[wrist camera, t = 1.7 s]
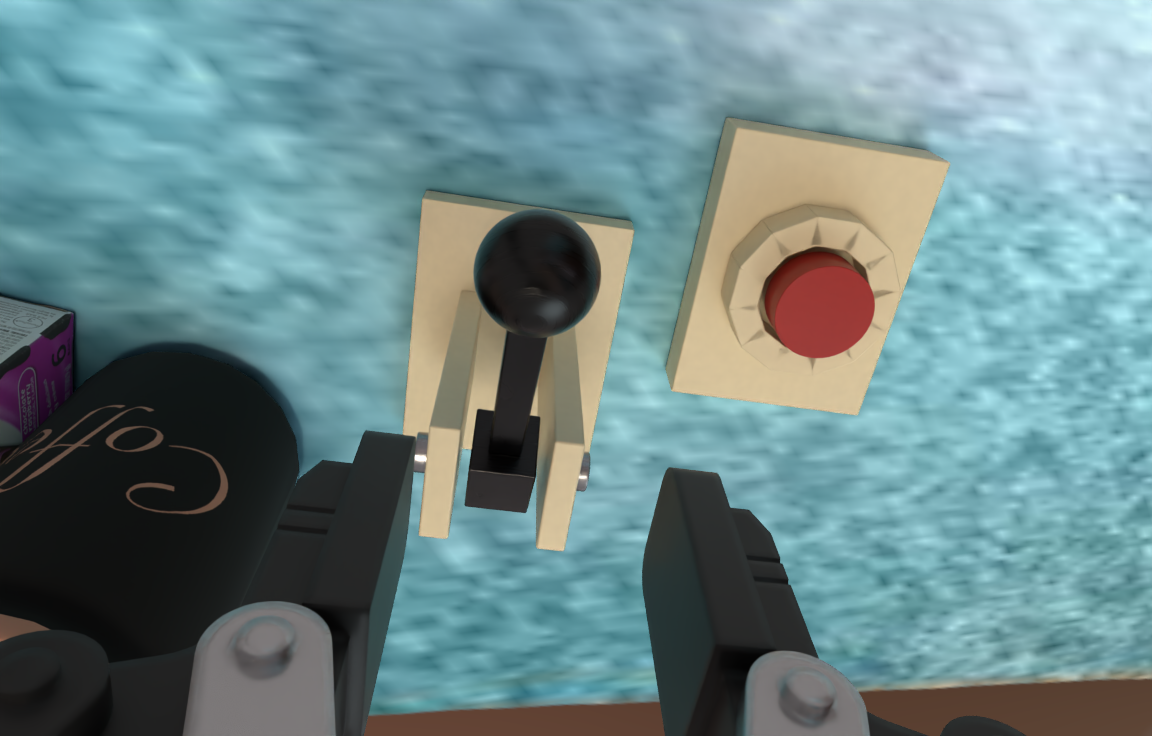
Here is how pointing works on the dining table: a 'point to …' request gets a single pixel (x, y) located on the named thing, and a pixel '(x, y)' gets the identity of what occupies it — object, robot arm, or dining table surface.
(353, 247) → the dining table surface
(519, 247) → the black lever
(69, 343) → the candy bar box
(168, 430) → the coffee jar
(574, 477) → the lever base
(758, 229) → the button block
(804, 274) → the button
